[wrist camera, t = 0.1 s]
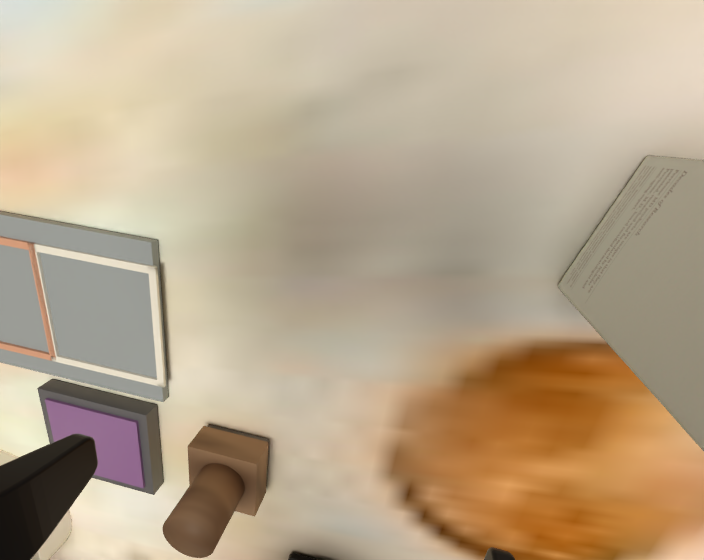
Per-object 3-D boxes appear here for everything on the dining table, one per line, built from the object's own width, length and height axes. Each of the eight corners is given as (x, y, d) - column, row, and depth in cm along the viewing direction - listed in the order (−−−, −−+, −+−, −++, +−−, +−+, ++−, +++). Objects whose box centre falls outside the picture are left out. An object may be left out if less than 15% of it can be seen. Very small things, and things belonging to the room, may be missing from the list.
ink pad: (163, 482, 31) (152, 497, 30) (67, 456, 32) (52, 469, 31) (157, 404, 28) (144, 417, 27) (52, 378, 30) (35, 389, 28)
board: (172, 397, 28) (165, 404, 27) (-31, 348, 30) (-42, 354, 29) (162, 240, 23) (153, 244, 23) (-75, 197, 26) (-89, 199, 25)
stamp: (268, 486, 29) (227, 575, 23) (208, 470, 30) (153, 553, 24) (271, 436, 27) (227, 520, 22) (207, 421, 28) (147, 497, 22)
